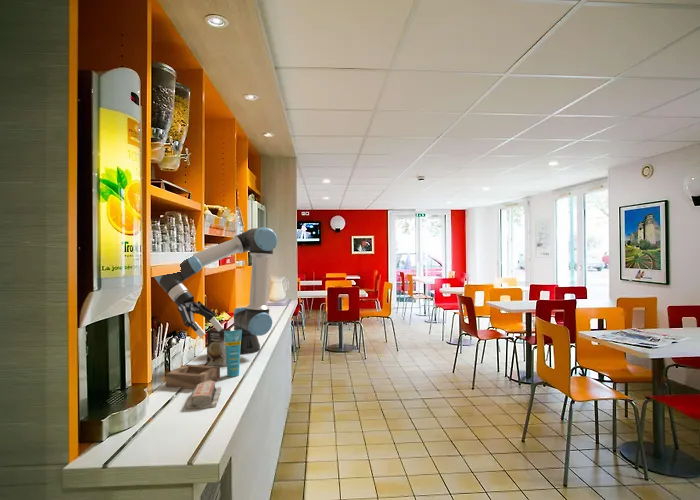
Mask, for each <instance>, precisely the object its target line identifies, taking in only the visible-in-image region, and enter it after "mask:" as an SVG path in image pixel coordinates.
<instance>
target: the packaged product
mask: <svg viewBox="0 0 700 500" xmlns="http://www.w3.org/2000/svg"><path fill="white" fill-rule="evenodd" d="M221 392H222V386H216V381H211V380H210V381H206V382H202V383H200V384H198V385H197V386H196V388H195V389H193V392H192V394H191V396H190V398H189V400H188V401H187V404H186V406H185V410H196V409H198V410H199V409H207V408H208V409H209V408H216V407H217V404H218V402H219V399H220V397H219V396H221Z"/></svg>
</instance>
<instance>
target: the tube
mask: <svg viewBox="0 0 700 500" xmlns="http://www.w3.org/2000/svg"><path fill="white" fill-rule="evenodd" d="M224 335H225V343H226V357H227V365H226V374H227V375H226V376H227V377H230V378H234V377H238V376H239V375H240V366H241V365H240V362H241V361H240V360H241V354H240V348H241V336H242V330H235V331H234V330H231V331H224Z"/></svg>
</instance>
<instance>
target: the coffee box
mask: <svg viewBox="0 0 700 500" xmlns="http://www.w3.org/2000/svg"><path fill="white" fill-rule="evenodd" d="M224 331H232V330H231V328H222V329H221V330H220V331H219V332H218V330H217V329H216V328H215V327H214V328H210V329H208V330H206V366H217V367H225V366H227V357H226V343H225V335H224Z"/></svg>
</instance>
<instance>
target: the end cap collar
mask: <svg viewBox="0 0 700 500" xmlns="http://www.w3.org/2000/svg"><path fill="white" fill-rule="evenodd" d="M218 379H219V380H220V379H221V366H218V365H203V364H202V365H201V364H185V365H183V366H181V367H179V368H176V369H173V370H171V371H169V372H166V374H165V387H166V388H167V387H168V388H177V387H181V388H180V389H193V390H195V388H196V386H197V385H198V384H200V383H202V382H206V381H210V380H211V381H215V382H217V381H218Z"/></svg>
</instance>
